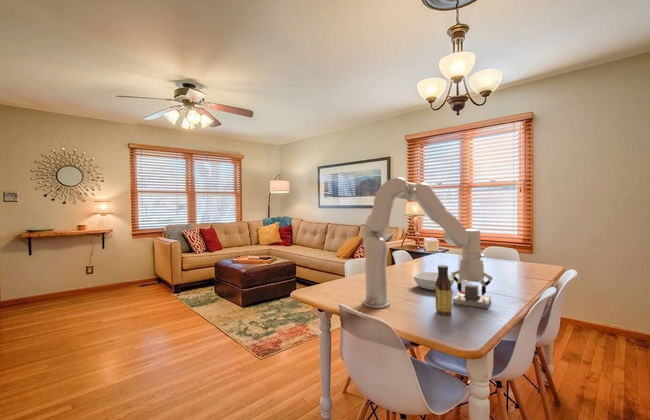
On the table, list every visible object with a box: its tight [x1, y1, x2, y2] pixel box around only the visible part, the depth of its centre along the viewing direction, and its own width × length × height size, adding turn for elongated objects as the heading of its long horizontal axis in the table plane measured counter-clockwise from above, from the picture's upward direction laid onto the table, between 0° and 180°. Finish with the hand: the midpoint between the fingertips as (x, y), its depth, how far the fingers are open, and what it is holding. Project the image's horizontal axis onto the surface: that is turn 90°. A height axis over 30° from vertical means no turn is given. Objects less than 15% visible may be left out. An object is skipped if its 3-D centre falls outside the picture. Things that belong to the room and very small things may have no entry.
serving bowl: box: [413, 271, 455, 291], centre depth 166 cm, size 21×21×7 cm
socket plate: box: [452, 290, 492, 310], centre depth 141 cm, size 14×14×3 cm
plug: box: [464, 284, 480, 300], centre depth 141 cm, size 5×5×7 cm
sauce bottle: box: [434, 264, 453, 316], centre depth 128 cm, size 6×6×20 cm
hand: (471, 293), depth 141 cm, fingers open, 9 cm apart
